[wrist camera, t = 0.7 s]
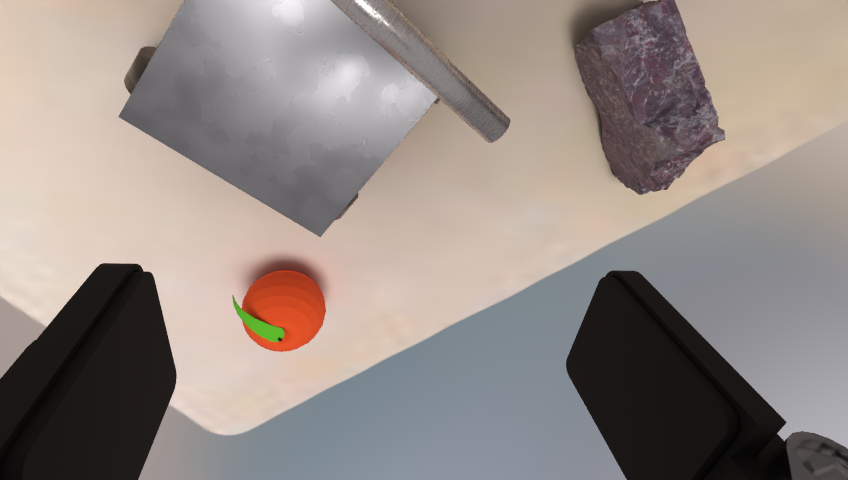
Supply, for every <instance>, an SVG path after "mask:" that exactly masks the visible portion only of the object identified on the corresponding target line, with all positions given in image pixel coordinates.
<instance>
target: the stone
mask: <svg viewBox="0 0 848 480" xmlns="http://www.w3.org/2000/svg"><path fill="white" fill-rule="evenodd" d="M575 54H576V62H577V65H578V68H579V71H580V74H581V77H582V81H583V83H584V84H585V88H586V90H587V91H588V94H589V96H590V97H591V99H592V100H593V101H594V102H595V104H596V106H597V109H598V111H599V114H600V117H601V121H602V148H603V151H604V152H605V154H606V157H607V159H608V161H609V162H610V166H611V170H612V172H613V174H614V175H615V176H616V177H617V178H618V179H619V180H620V182H622V183H623V184H624V185H625V186H626V187H627V188H631V189H632V190H634V191H635V192H636V193H637V194H639V195H643V194H646V193H648V192H650V191H653V192H655V191H660V190H667V189H668V188H669V186H670V185H671V184H672V182H673V181H674V180H675V179H676V178H680V176H681V175H682V174H683V173H684V172H685V168H686V167H688V166H689V164H690V163H691V162H692V161H693V160H694V159H695V158H696V157H698V156H700V155H701V154H702V153H703V151H704V150H705V149H706V148H707V147H709V146H711V145H712V144H714V143H717V142H719V141H721V140H725V132H724V130H722V129H720V128H719V127H718V116H717V115H716V114H717V111H716V110H715V108H714V106H713V104H712V99H711V95H710V92H709V91H708V90H707V89H706V88H705V79H704V77H703V75H702V72H701V70H700V66H699V63H698V61H697V59H696V57H695V54H694V52H693V49H692V46H691V44H690V42H689V40H688V38H687V36H686V30H685V26H684V24H683V21H682V18H681V16H680V13H679V10H678V8H677V5H676V3H675V0H658V1H652V2H651V1H649V2H646V3H643V4H640V5H639V6H637V7H635V8H634V9H630V10H627V11H625V12H624V13H622V14H621V15H620V16H618V17H616V18H614V19H612V20H610V21H607V22H605V23H603V24H601V25H599V26H597V27H596V28H594V29H592V30H590V31H589V33H588V34H587V35H586V36H585V37H584V39H582V42H581V43H579V44H577V45H576V47H575Z"/></svg>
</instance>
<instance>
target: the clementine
mask: <svg viewBox="0 0 848 480" xmlns="http://www.w3.org/2000/svg"><path fill="white" fill-rule="evenodd" d="M232 297H233V295H232ZM233 303H234V307H235V309H236V311H237V313H238V315H239V316H240V318H241V319H242V321H243V325H244V328H245V330H246V332H247V334H248V335H249V337H250V338H251V339H253V340H254V341H255V342H256V343H257V344H258V345H260V346H262V347H264V348H266V349H269V350H272V351H280V352H283V351H291V350H294V349H297V348H299V347H301V346H303V345H305V344H307V343H308V342H309V341H311V340H312V339H313V338H314V337H315V335H316V334H317V333H318V331H319V330H320V328H321V326H322V324H323V320H324V316H325V312H326V309H325V301H324V296H323V294H322V292H321V290H320V288H319V287H318V285H317V284H316V283H315V282H314V281H313V280H312V279H311V278H309V277H308V276H306V275H305V274H302V273H299V272H296V271H289V270H281V271H275V272H271V273H268V274H266V275H265V276H263V277H261V278H260V279H258V280H257V281H256V282H255V283H254V284H253V285H252V286H251V287H250V288H249V290H248V292H247V294H246V296H245V298H244V300H243V304H242V309H241V308H240V307H239V306H238V305H237V303H236V301H235V299H234V297H233Z"/></svg>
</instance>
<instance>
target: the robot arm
mask: <svg viewBox="0 0 848 480" xmlns="http://www.w3.org/2000/svg"><path fill="white" fill-rule="evenodd" d="M566 368H567V372H568V375H569V377H570V379H571V380H572V382H573V384H574V386H575V388H576V389H577V391H578V393H579V395H580V397H581V398H582V400H583V402H584V404H585V405H586V407H587V409H588V411H589V412H590V414H591V416H592V418H593V420H594V422H595V423H596V425H597V427H598V429H599V431H600V432H601V434H602V436H603V438H604V440H605V441H606V443H607V445H608V447H609V449H610V450H611V452H612V454H613V455H614V457H615V459H616V461H617V463H618V465H619V466H620V468H621V470H622V472H623V474H624V475H625V477H626V479H627V480H848V449H847V448H846V447H844V446H842V445H840V444H838V443H837V442H835V441H833V440H831V439H829V438H826V437H823V436H820V435H818V434H815V433H809V432H803V431H801V432H796V433H792V434H791V435H790V436H789V437H788V438H787V439H786V440H785V441H783V439H781V437H780V436H779V435H778V434H777V433H778V432H779V430H780V429H781V428H782V427H783V426H784V425H785V424H786V421H785V420H784V419H783V418H782V417H781V416H780V415H779V414H778V413H777V412H776V411H775V410H774V409H773V408H772V407H771V406H770V405H769V404H768V403H767V402H766V401H765V400H764V399H763V398H762V397H761V396H760V395H759V394H758V393H757V392H756V391H755V390H754V389H753V388H752V387H751V386H750V385H749V383H748V382H746V380H745V379H744V378H743V377H742V376H740V374H739V373H738V372H737V371H736V370H735V369H734V368H733V367H732V366H731V365H730V364H729V363H728V362H727V361H726V360H725V359H724V358H723V357H722V356H721V355H720V354H719V353H718V352H717V351H716V350H715V349H714V348H713V347H712V346H711V345H710V344H709V343H708V342H707V341H706V340H705V339H704V338H703V337H702V336H701V335H700V334H699V333H698V332H697V331H696V330H695V329H694V328H693V327H692V325H691V324H690V323H688V321H687V320H686V319H684V317H683V316H682V315H680V313H679V312H678V311H677V310H676V309H675V308H674V307H673V306H672V305H671V304H670V303H669V302H668V301H667V300H666V299H665V298H664V297H663V296H662V295H661V294H660V293H659V292H658V291H657V290H656V289H655V288H654V287H653V286H652V285H651V284H650V283H649V282H648V281H647V280H646V279H645V278H644V277H643V276H642V275H641V274H640V273H639V272H636V271H610V272H609V273H608V274H607V275H606V276H605V277H603V278H602V279H601V280H600V281H599V284H598V286H597V288H596V291H595V293H594V296H593V298H592V300H591V303H590V305H589V307H588V310H587V312H586V314H585V317H584V319H583V322H582V324H581V327H580V329H579V331H578V334H577V336H576V339H575V341H574V343H573V346H572V348H571V350H570V353H569V355H568V358H567V361H566ZM175 385H176V369H175V364H174V360H173V356H172V352H171V348H170V343H169V339H168V335H167V331H166V327H165V322H164V318H163V314H162V310H161V306H160V301H159V297H158V293H157V289H156V285H155V280H154V277H153V275H152V273H151V272H143V269H142V267H141V266H140V265H138V264H110V263H104V264H100V265H99V266H98V267H97V268H96V269H95V270H94V271H93V272H92V274H91V275H90V276H89V277H88V278H87V280H86V281H85V282H84V283H83V284H82V286H81V287H80V288H79V289H78V290H77V292H76V293H75V294H74V295H73V296H72V298H71V299H70V300H69V301H68V302H67V304H66V305H65V306H64V307H63V308H62V310H61V311H60V312H59V313H58V315H57V316H56V317H55V318H54V319H53V321H52V322H51V323H50V324H49V325H48V327H47V328H46V329H45V330H44V331H43V333H42V334H41V335H40V336H39V337H38V339H37V340H35V341H34V342H32V343H31V344H30V345H29V346H28V347H27V348H26V349H25V350H24V352H23V353H22V354H21V355H20V356H19V358H18V359H17V360H16V361H15V362H14V364H13V365H12V366H11V367H10V368H9V370H8V371H7V372H6V373H5V374H4V375H3V377H2V378H1V379H0V480H138V478H139V476H140V473H141V471H142V469H143V466H144V464H145V461H146V459H147V456H148V454H149V451H150V449H151V446H152V444H153V441H154V439H155V436H156V434H157V431H158V429H159V426H160V424H161V421H162V419H163V416H164V414H165V411H166V409H167V407H168V404H169V402H170V399H171V397H172V394H173V392H174V389H175Z"/></svg>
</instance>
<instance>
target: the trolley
mask: <svg viewBox="0 0 848 480" xmlns="http://www.w3.org/2000/svg"><path fill="white" fill-rule="evenodd" d="M124 83H125V86H126V88H127V90H128V91H129V93H130V94H131V96H130V97H129V99H128V101H127V103H126V104H125V106H124V108H123V110H122V111H121V113H120V115H119V117H120V118H121V119H123V120H125V121H126V122H128V123H130V124H132V125H133V126H135V127H137V128H138V129H140V130H142V131H143V132H145V133H147V134H148V135H150V136H152V137H153V138H155V139H157V140H158V141H160V142H162V143H163V144H165V145H167V146H168V147H170V148H172V149H173V150H175V151H177V152H178V153H180V154H182V155H184V156H185V157H187V158H189V159H190V160H192V161H194V162H195V163H197V164H199V165H200V166H202V167H204V168H205V169H207V170H209V171H210V172H212V173H214V174H215V175H217V176H219V177H220V178H222V179H224V180H225V181H227V182H229V183H230V184H232V185H234V186H235V187H237V188H239V189H241V190H242V191H244V192H246V193H247V194H249V195H251V196H252V197H254V198H256V199H257V200H259V201H261V202H262V203H264V204H266V205H267V206H269V207H271V208H272V209H274V210H276V211H277V212H279V213H281V214H282V215H284V216H286V217H287V218H289V219H291V220H293V221H294V222H296V223H298V224H299V225H301V226H303V227H304V228H306V229H308V230H309V231H311V232H313V233H314V234H316V235H318V236H319V237H321V236H322V234H323V233H324V232H325V231H326V230H327V228H328V227H329V226H330V225H331V224H332V223H333V221H334V220H337V219H339V218H341V217H342V216H343V214H344V213H345V212H346V211H347V210H348V208H349V207H350V206H351V205H352V204H353V203H354V201H355V200H356V199H357V198H358V192H359V190H360V189H361V188H362V187H363V186H364V185H365V183H366V182H367V181H368V180H369V179H370V177H371V176H372V175H373V174H374V173H375V171H376V170H377V169H378V168H379V167H380V166H381V164H382V163H383V162H384V161H385V160H386V158H387V157H388V156H389V155H390V154H391V152H392V151H393V150H394V149H395V148H396V147H397V145H398V144H399V143H400V142H401V141H402V139H403V138H404V137H405V136H406V135H407V134H408V132H409V131H410V130H411V129H412V128H413V126H414V125H415V124H416V123H417V122H418V120H419V119H420V118H421V117H422V116H423V115H424V113H425V112H426V111H427V110H428V109H429V107H430V106H431V105H432V104H433V103H436V104H437V103H438V102H439V101H440V100H441V101H442V102H444V103H445V104H446V105H447V106H448V107H449V108H450V109H451V110H452V111H454V112H455V113H456V114H457V115H458V116H459V117H460V118H461V119H462V120H464V121H465V122H466V123H467V124H468V125H469V126H470V127H471V128H472V129H474V130H475V131H476V132H477V133H478V134H479V135H480V136H481V137H482V138H484V139H485V140H486V141H487V142H488V143H492V142H494V141H496V140H498V139H499V138H500V137H501V136H502V135H503V134H504V133H505V132H506V130H507V129H508V127H509V124H510V119H509V118H508V117H507V116H506V115H505V114H504V113H503V112H502V111H501V110H500V109H499V108H498V107H497V106H496V105H495V104H494V103H493V102H492V101H491V100H490V99H489V98H488V97H487V96H486V95H485V94H484V93H483V92H482V91H481V90H480V89H479V88H478V87H477V86H475V85H474V84H473V83H472V82H471V81H470V80H469V79H468V78H467V77H466V76H465V75H464V74H463V73H462V72H461V71H460V70H459V69H458V68H457V67H456V66H455V65H454V64H453V63H452V62H451V61H450V60H449V59H448V58H447V57H446V56H445V55H444V54H443V53H442V52H441V51H439V50H438V49H437V48H436V47H435V46H434V45H433V44H432V43H431V42H430V41H429V40H428V39H427V38H426V37H425V36H424V35H423V34H422V33H421V32H420V31H419V30H418V29H417V28H416V27H415V26H414V25H413V24H412V23H411V22H410V21H409V20H408V19H407V18H406V17H405V16H403V15H402V14H401V13H400V12H399V11H398V10H397V9H396V8H395V7H394V6H393V5H392V4H391V3H390V2H389V1H388V0H184V2H183V4H182V5H181V7H180V9H179V11H178V12H177V14H176V16H175V18H174V20H173V21H172V23H171V25H170V27H169V28H168V30H167V32H166V34H165V35H164V37H163V39H162V41H161V42H160V44H159V46H158V48H155V47H143V48H141V49H140V51H139V53H138V55H137V56H136V58H135V60H134V62H133V64H132V66H131V67H130V69H129V71H128V73H127V75H126V76H125V79H124Z"/></svg>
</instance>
